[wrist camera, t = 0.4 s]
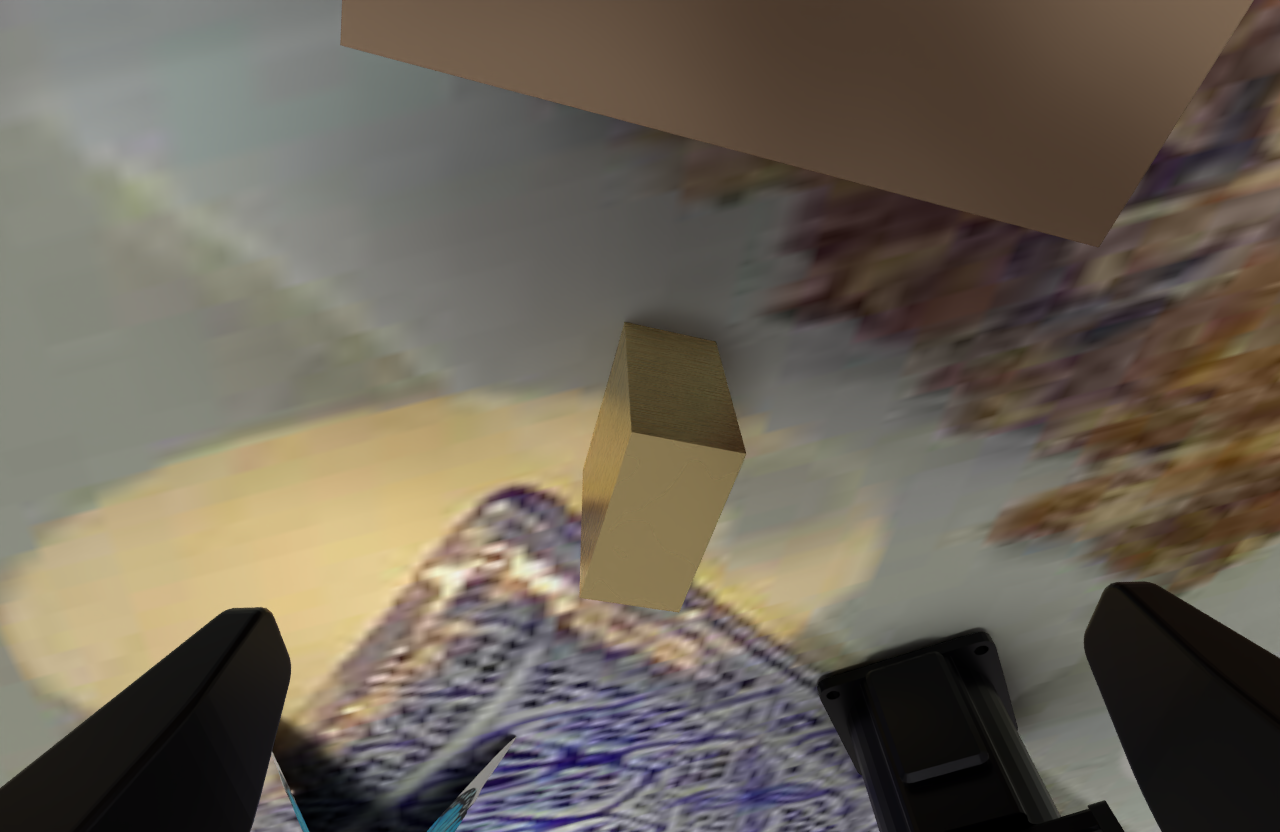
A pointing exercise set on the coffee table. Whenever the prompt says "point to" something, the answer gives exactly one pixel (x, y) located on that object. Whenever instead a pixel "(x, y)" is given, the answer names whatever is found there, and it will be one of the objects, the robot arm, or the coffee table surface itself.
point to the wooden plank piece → (656, 469)
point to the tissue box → (857, 84)
